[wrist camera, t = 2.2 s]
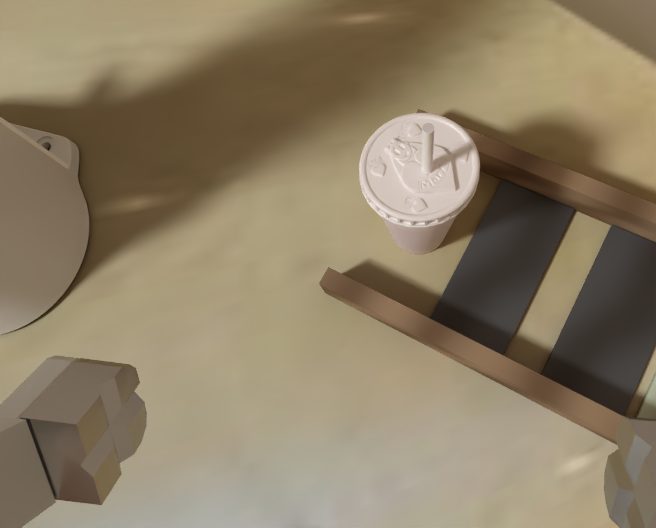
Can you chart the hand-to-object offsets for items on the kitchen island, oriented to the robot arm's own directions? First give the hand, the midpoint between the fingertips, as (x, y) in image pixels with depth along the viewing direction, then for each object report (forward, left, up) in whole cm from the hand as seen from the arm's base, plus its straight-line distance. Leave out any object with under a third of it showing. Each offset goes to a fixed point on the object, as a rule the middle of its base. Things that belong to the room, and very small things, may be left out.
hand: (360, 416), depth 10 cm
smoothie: (-5, +13, -27) cm, 31 cm away
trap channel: (+5, +13, -27) cm, 30 cm away
